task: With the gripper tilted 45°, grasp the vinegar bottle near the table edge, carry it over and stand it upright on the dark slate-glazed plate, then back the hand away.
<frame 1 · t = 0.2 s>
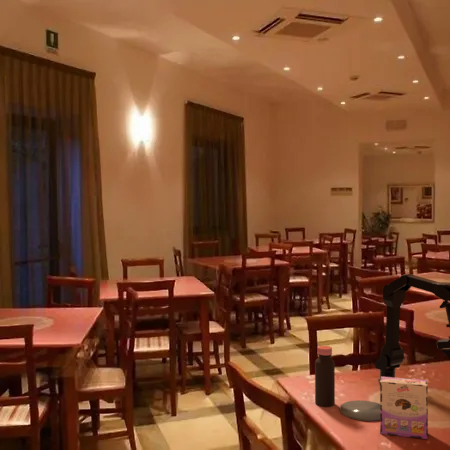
candy box: (403, 433, 164), on the table
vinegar: (324, 404, 189), on the table
plate: (364, 411, 181), on the table
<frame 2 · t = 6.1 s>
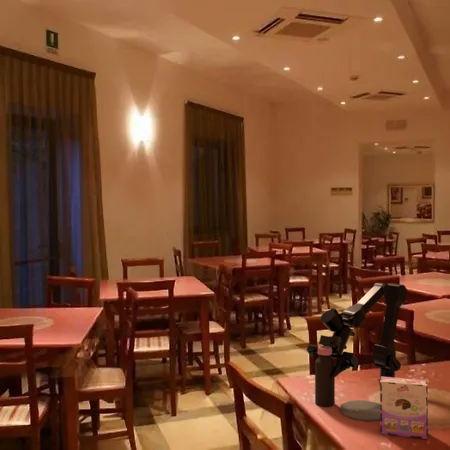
hand: (322, 376, 188), 10 cm above the table, tool tilted 45°, fingers closed on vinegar, 7 cm apart
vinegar: (324, 404, 189), on the table, touching gripper
everything else where it was.
when the fingers open (12 cm above the table, at t = 10.3 s): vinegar stays where it is, resting on plate.
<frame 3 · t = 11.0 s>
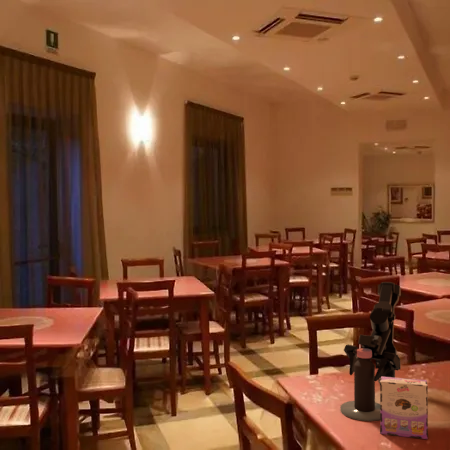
hand: (362, 377, 180), 12 cm above the table, tool tilted 45°, fingers open, 9 cm apart
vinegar: (364, 409, 181), point 1 cm above the table, touching plate
everything else where it was.
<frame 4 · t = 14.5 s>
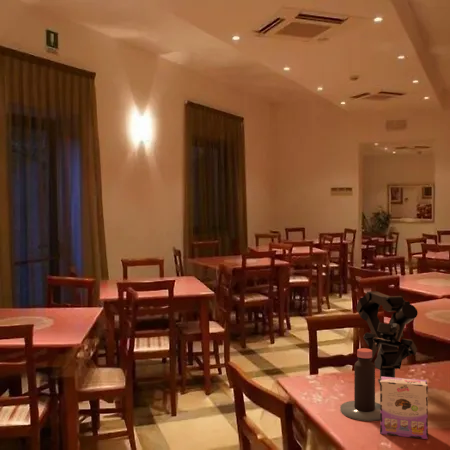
hand: (381, 362, 191), 14 cm above the table, tool tilted 45°, fingers open, 9 cm apart
nothing on the table moved.
at the end: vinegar inside the target area on the plate (0.3 cm from its centre), point 0.8 cm above the plate's base; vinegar tilted 0°; the gripper is holding nothing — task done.
